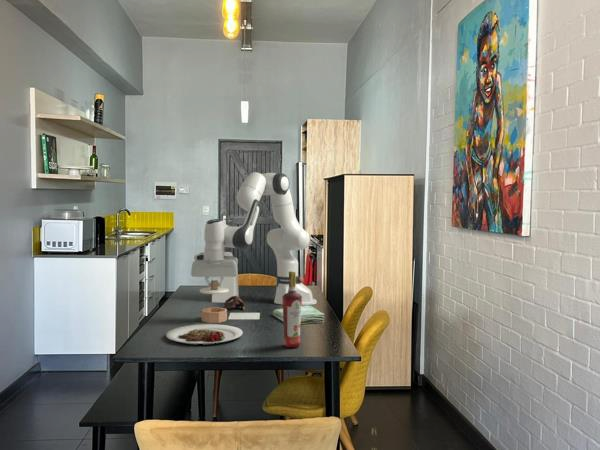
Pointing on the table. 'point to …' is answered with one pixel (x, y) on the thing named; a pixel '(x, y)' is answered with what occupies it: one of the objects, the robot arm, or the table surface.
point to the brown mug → (234, 302)
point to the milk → (227, 286)
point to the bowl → (214, 315)
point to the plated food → (204, 334)
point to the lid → (214, 289)
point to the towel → (304, 315)
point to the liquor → (292, 314)
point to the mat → (244, 316)
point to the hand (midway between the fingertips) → (214, 286)
